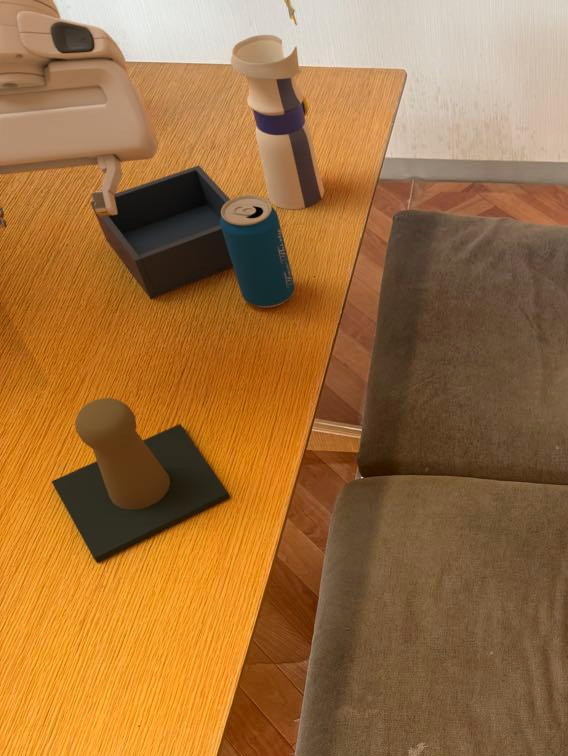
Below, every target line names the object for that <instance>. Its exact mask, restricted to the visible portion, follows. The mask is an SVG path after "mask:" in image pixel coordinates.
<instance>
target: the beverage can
mask: <svg viewBox="0 0 568 756" xmlns="http://www.w3.org/2000/svg"><path fill="white" fill-rule="evenodd" d="M220 225H221V228H222V232H223V235H224V238H225V241H226V245H227V248H228V251H229V254H230V258H231V261H232V264H233V267H232V268H233V271H234V273H235V278H236V280H237V283H238V288H239V290H240V293H241V297H242V298H243V300H244V301H245V302H246V303H247V304H250V305H252V306H255V307H259V308H263V309H268V308H269V309H270V308H275V307H278V306H281V305H283V304H284V303H285V302H287V301H288V300H289V299H290V298H291V297H292V296H293V294H294V293H295V289H296V286H295V285H296V284H295V281H294V277H293V273H292V269H291V265H290V260H289V256H288V252H287V248H286V245H285V239H284V235H283V232H282V228H281V224H280V220H279V216H278V213H277V211H276V209H275V208H274V207H273V206H272V203H271V202H270V201H269V199H268V198H267V199H266V198H265V197H263V196H260V195H255V194H245V195H239V196H236V197H233V198H231V199H230V200H229V201H228V202H226V203H225V204H224V205H223V207H222V209H221V219H220Z"/></svg>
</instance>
